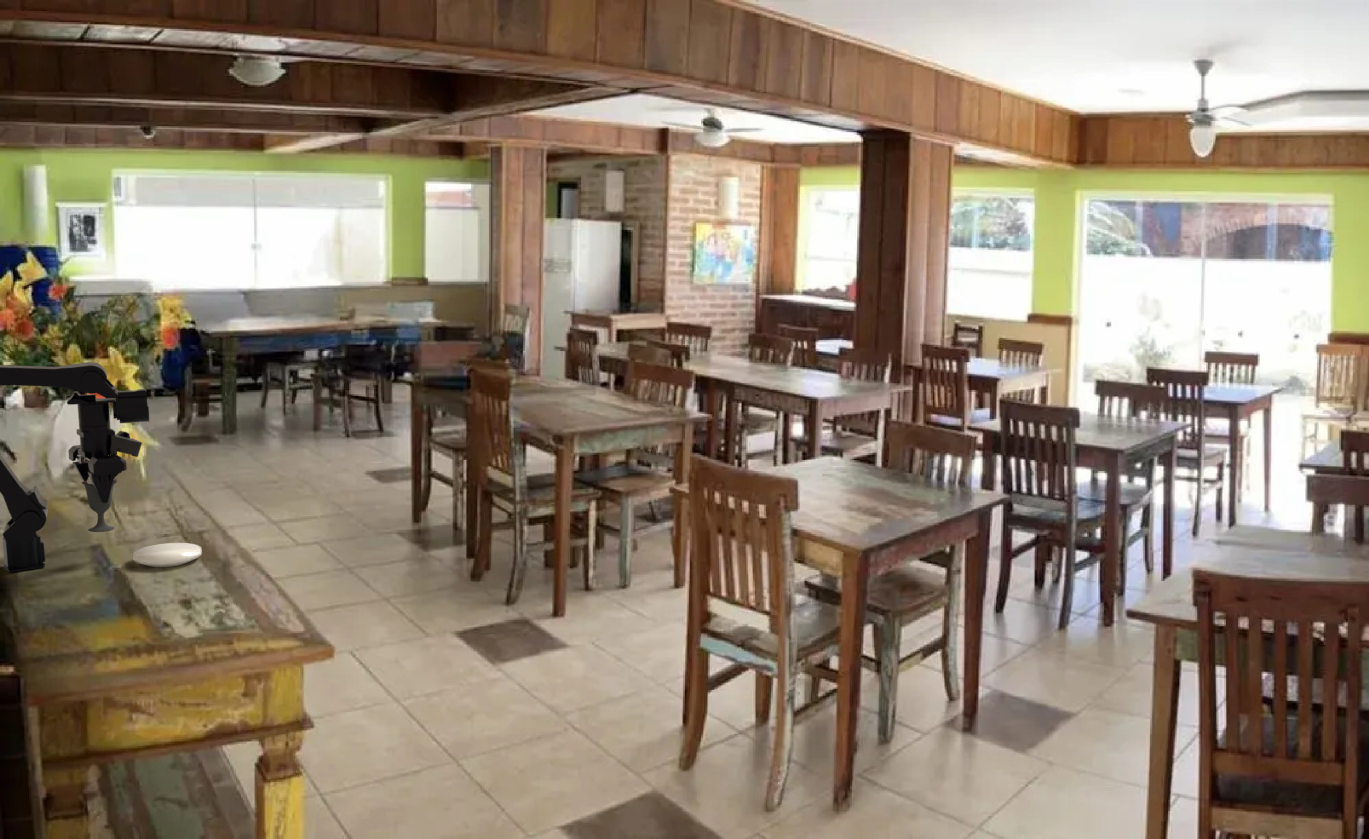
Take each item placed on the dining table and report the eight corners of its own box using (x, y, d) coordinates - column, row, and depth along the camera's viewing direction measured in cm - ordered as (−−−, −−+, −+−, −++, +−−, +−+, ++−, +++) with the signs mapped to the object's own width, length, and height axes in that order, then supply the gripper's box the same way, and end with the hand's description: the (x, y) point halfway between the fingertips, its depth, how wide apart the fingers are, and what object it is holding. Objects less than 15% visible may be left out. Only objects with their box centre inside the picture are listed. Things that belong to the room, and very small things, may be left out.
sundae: (92, 534, 242) (88, 461, 240) (77, 529, 246) (74, 457, 244) (124, 529, 247) (121, 457, 245) (110, 524, 251) (107, 454, 249)
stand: (145, 573, 239) (145, 564, 239) (125, 559, 249) (124, 549, 248) (211, 562, 247) (210, 553, 247) (188, 548, 257) (188, 539, 257)
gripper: (151, 427, 242) (155, 502, 244) (122, 414, 255) (126, 485, 258) (91, 433, 234) (97, 510, 237) (65, 419, 248) (70, 492, 251)
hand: (99, 499), depth 246 cm, fingers closed on sundae, 7 cm apart
